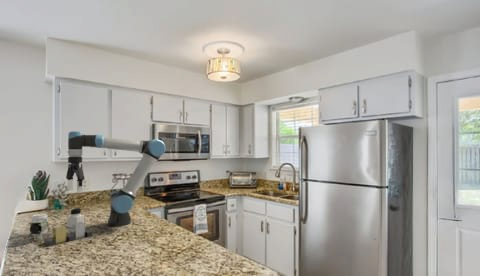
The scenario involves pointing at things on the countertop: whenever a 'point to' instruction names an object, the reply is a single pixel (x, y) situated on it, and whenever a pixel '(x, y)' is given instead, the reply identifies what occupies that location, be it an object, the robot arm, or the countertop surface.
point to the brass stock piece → (59, 234)
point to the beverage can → (40, 216)
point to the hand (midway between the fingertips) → (74, 191)
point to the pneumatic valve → (38, 228)
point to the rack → (69, 237)
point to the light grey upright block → (78, 229)
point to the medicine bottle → (74, 217)
